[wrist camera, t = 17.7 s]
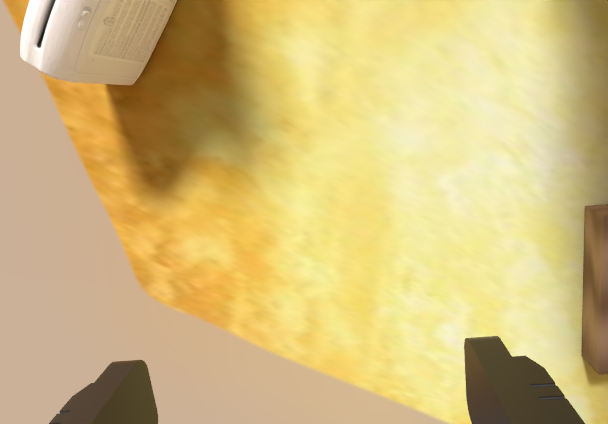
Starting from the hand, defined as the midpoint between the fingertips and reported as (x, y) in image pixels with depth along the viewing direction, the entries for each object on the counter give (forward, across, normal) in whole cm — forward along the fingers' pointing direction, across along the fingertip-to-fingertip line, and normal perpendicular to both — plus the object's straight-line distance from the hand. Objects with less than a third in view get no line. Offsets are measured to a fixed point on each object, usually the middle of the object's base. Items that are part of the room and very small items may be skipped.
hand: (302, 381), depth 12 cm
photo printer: (+30, +14, -14) cm, 36 cm away
